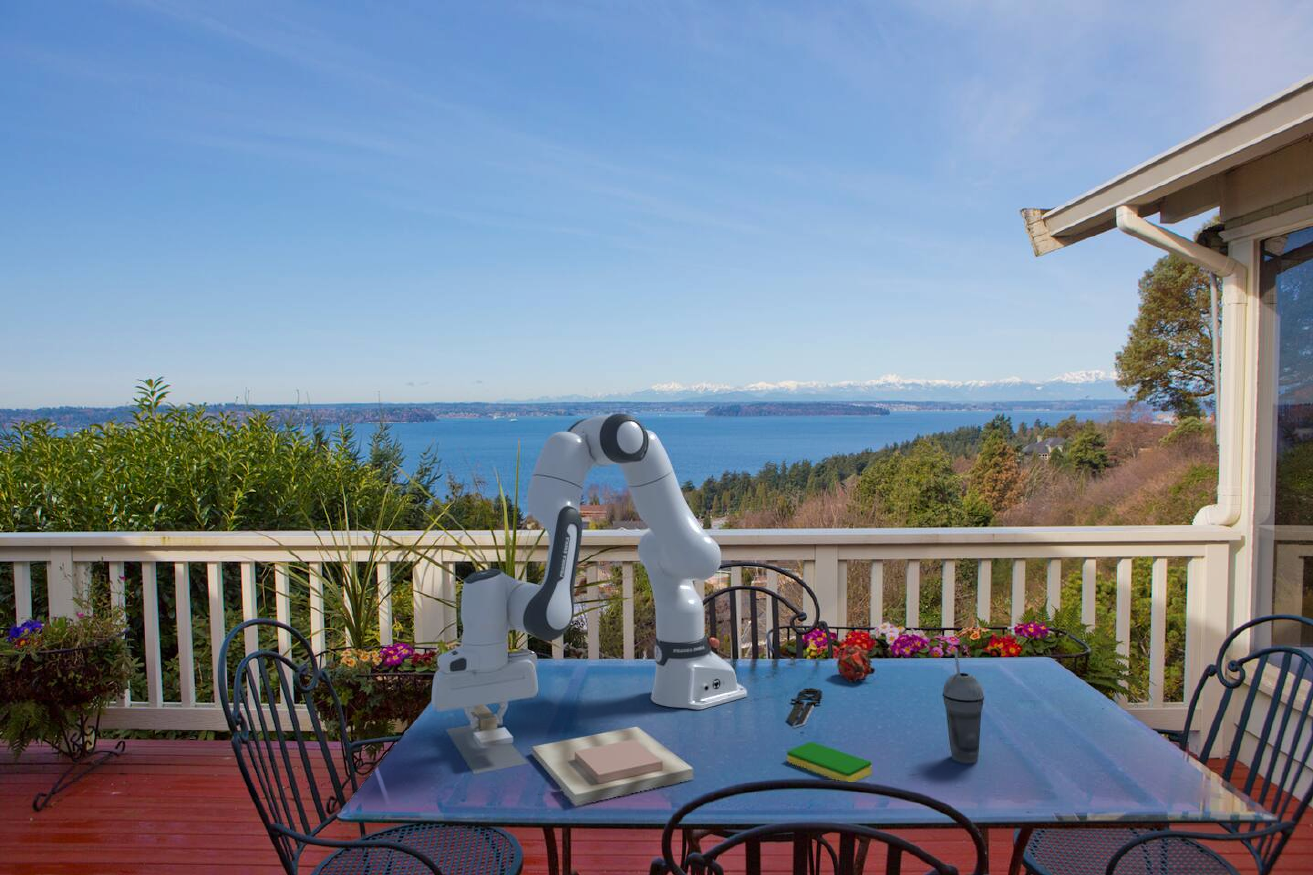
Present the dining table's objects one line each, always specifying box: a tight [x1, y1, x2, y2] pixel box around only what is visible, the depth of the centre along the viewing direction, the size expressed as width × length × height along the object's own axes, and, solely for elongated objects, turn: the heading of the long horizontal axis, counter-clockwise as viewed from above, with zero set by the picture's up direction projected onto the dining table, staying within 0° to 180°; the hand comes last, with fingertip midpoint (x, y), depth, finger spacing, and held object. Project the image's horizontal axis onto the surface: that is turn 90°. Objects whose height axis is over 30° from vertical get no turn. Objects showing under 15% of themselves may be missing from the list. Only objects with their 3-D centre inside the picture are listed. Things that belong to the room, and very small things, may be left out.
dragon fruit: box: [836, 645, 876, 683], centre depth 200 cm, size 8×8×12 cm
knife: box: [786, 687, 823, 729], centre depth 179 cm, size 25×6×1 cm, turn 155°
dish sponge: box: [786, 741, 872, 783], centre depth 147 cm, size 7×14×2 cm, turn 40°
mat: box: [445, 724, 529, 775], centre depth 160 cm, size 10×26×1 cm, turn 26°
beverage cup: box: [942, 648, 985, 764], centre depth 150 cm, size 7×7×20 cm
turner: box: [464, 705, 514, 748], centre depth 159 cm, size 6×20×3 cm, turn 26°
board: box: [531, 726, 694, 805], centre depth 149 cm, size 22×24×2 cm
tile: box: [574, 739, 663, 784], centre depth 146 cm, size 12×2×12 cm
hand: (486, 726), depth 158 cm, fingers closed on turner, 3 cm apart
